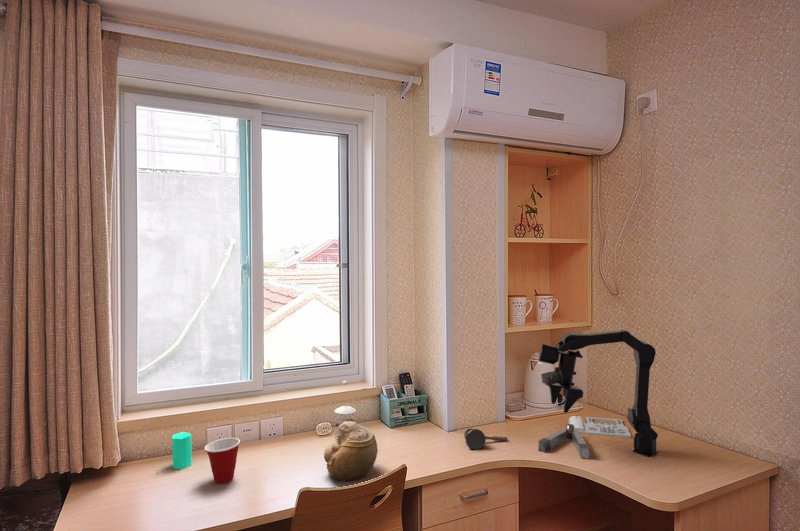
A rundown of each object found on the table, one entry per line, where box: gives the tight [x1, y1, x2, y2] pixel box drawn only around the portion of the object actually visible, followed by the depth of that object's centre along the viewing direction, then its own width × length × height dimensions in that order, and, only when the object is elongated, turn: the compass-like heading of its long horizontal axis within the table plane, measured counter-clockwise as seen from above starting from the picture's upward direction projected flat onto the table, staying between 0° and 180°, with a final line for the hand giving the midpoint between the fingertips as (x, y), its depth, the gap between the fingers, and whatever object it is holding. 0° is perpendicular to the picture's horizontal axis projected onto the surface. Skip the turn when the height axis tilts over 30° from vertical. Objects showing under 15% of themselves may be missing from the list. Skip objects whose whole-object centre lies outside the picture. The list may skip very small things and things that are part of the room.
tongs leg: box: [571, 430, 590, 459], centre depth 180 cm, size 18×3×4 cm, turn 171°
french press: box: [333, 380, 357, 442], centre depth 185 cm, size 10×12×25 cm
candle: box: [171, 431, 193, 470], centre depth 169 cm, size 6×6×12 cm
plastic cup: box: [204, 437, 241, 485], centre depth 157 cm, size 11×11×12 cm
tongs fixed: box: [538, 423, 574, 453], centre depth 185 cm, size 22×4×5 cm, turn 136°
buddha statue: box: [323, 421, 378, 483], centre depth 161 cm, size 20×17×17 cm
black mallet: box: [463, 428, 508, 451], centre depth 185 cm, size 8×18×8 cm
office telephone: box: [567, 415, 632, 439], centre depth 204 cm, size 23×3×20 cm
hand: (559, 407), depth 182 cm, fingers open, 9 cm apart
